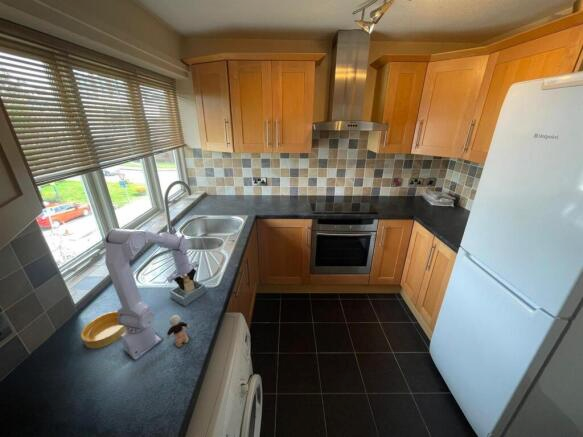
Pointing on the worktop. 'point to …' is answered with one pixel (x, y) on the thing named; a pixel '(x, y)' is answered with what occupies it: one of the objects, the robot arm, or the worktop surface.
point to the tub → (188, 297)
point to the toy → (187, 284)
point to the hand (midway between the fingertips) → (187, 286)
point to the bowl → (102, 330)
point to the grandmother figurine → (178, 330)
